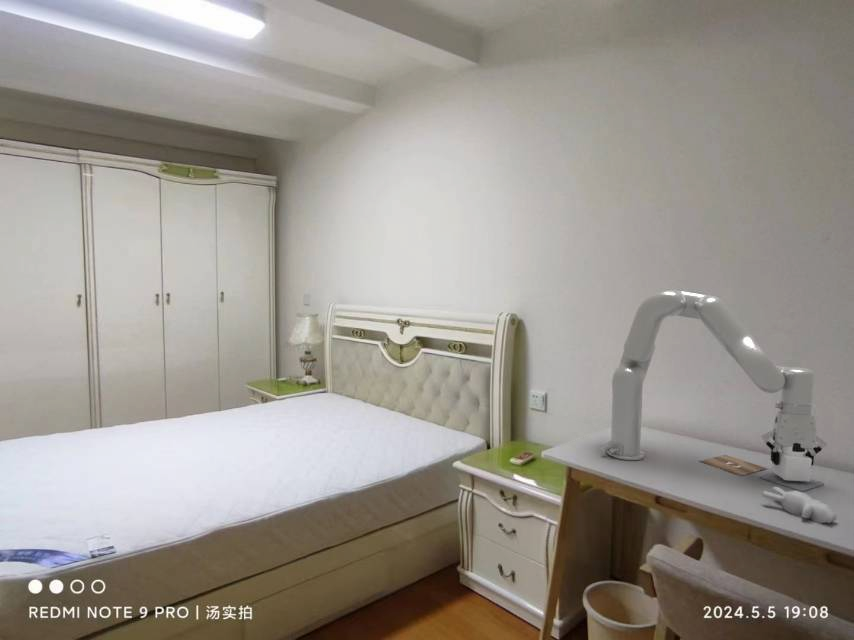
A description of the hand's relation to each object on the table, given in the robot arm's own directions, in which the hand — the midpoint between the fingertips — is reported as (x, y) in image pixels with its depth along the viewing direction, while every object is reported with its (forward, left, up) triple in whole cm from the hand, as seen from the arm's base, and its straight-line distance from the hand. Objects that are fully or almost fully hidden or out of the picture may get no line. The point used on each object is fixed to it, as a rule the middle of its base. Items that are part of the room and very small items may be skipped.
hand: (791, 465), depth 153 cm
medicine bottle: (0, 0, -4) cm, 4 cm away
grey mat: (0, 0, -5) cm, 5 cm away
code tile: (-3, +16, -5) cm, 17 cm away
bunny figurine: (-21, -13, -5) cm, 25 cm away
